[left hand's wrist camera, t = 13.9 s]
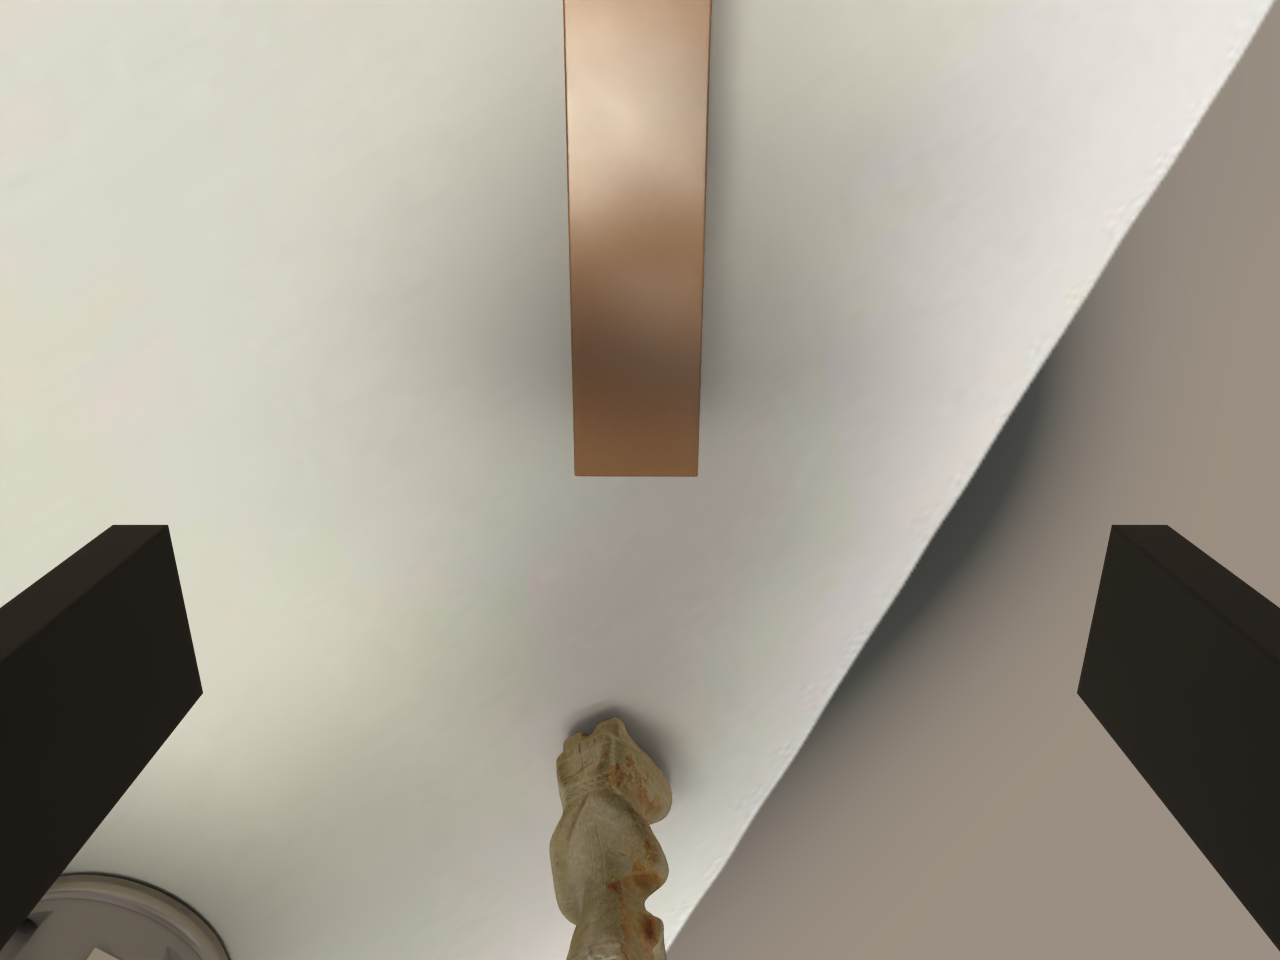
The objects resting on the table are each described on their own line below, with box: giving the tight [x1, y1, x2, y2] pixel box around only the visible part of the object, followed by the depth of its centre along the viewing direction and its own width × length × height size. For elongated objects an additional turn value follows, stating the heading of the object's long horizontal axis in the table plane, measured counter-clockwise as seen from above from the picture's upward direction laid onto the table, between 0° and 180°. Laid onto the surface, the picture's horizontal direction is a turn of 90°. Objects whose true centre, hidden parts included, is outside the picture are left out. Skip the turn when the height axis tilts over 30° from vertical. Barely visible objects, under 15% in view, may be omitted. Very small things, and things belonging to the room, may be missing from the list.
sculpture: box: [550, 717, 672, 960], centre depth 44 cm, size 6×7×15 cm
